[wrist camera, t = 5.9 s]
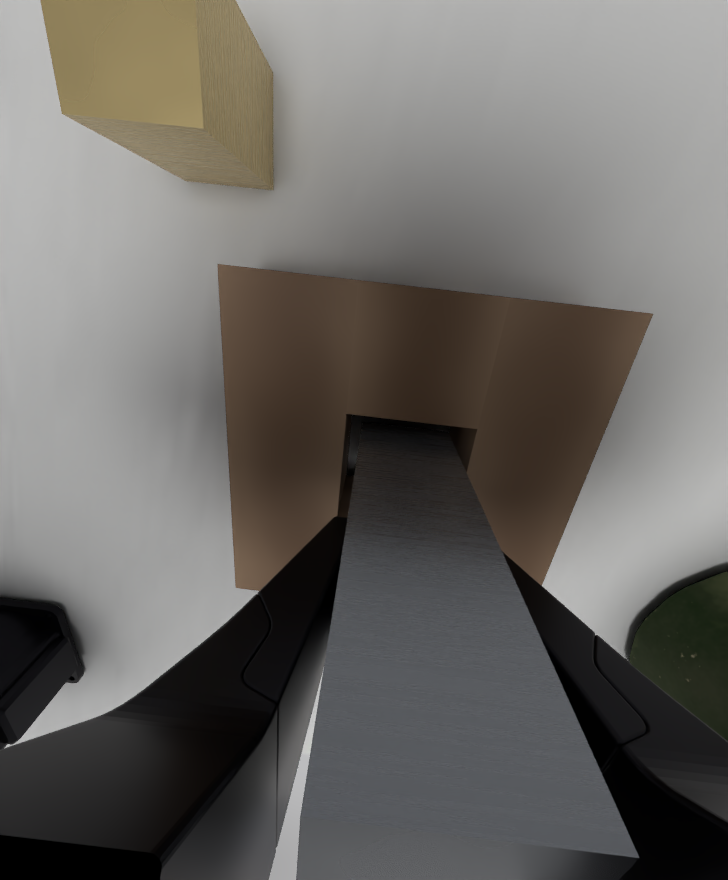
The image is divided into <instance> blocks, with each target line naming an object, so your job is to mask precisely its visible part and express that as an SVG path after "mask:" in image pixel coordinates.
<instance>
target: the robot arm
mask: <svg viewBox="0 0 728 880" xmlns="http://www.w3.org/2000/svg"><path fill="white" fill-rule="evenodd" d="M346 525H347V518H346V517H338V516H335V517H333V518H332V519H331V520H330V521H329V522H328V523H327V524H326V525H325V526H324V527H323V528H322V529H321V530H320V531H319V532H318V533H317V534H316V535H315V536H314V537H313V538H312V539H311V540H310V541H309V542H308V543H307V544H306V545H305V546H304V547H303V548H302V549H301V550H300V551H299V552H298V553H297V554H296V555H295V556H294V557H293V558H292V559H291V560H290V561H289V562H288V563H287V564H286V565H285V566H284V567H283V568H282V569H281V570H280V571H279V572H278V573H277V574H276V575H275V576H274V577H273V578H272V579H271V580H270V581H269V582H268V583H267V584H266V585H265V586H264V587H263V588H262V589H261V590H260V591H259V592H258V594H256V595H255V596H254V597H253V598H252V599H251V600H250V601H249V602H248V603H247V604H246V605H245V606H244V607H243V608H242V609H240V610H239V611H238V612H237V613H236V614H235V615H234V616H233V617H232V618H231V619H230V620H229V621H228V622H226V623H225V624H224V625H223V626H222V627H221V628H219V629H218V630H217V631H216V632H215V633H213V634H212V635H211V636H210V637H209V638H207V639H206V640H205V641H204V642H203V643H201V644H200V645H199V646H198V647H196V648H195V649H194V650H193V651H191V652H190V653H189V654H188V655H186V656H185V657H184V658H183V659H181V660H180V661H179V662H178V663H176V664H175V665H174V666H173V667H171V668H170V669H169V670H168V671H166V672H165V673H164V674H163V675H161V676H160V677H159V678H158V679H156V680H155V681H154V682H153V683H151V684H150V685H149V686H148V687H146V688H145V689H144V690H142V691H141V692H140V693H138V694H137V695H136V696H134V697H133V698H131V699H130V700H128V701H127V702H125V703H124V704H122V705H120V706H119V707H117V708H115V709H113V710H112V711H109V712H107V713H105V714H103V715H101V716H98V717H96V718H93V719H90V720H87V721H84V722H81V723H78V724H75V725H72V726H69V727H67V728H64V729H61V730H58V731H55V732H52V733H49V734H46V735H43V736H40V737H37V738H34V739H31V740H28V741H25V742H22V743H19V744H16V745H13V746H10V747H7V748H5V746H6V745H7V744H14V743H16V742H17V741H18V740H19V739H20V738H21V737H22V736H23V735H24V733H25V732H26V731H27V730H28V728H29V727H30V726H31V725H32V723H33V722H34V721H35V720H36V719H37V717H38V716H39V715H40V714H41V712H42V711H43V710H44V709H45V707H46V706H47V705H48V704H49V702H50V701H51V700H52V699H53V697H54V696H55V695H56V694H57V693H58V691H59V690H60V689H61V688H62V686H63V685H64V684H65V683H66V682H68V683H77V682H78V681H79V680H80V679H81V677H82V676H83V675H84V673H83V670H82V667H81V664H80V661H79V658H78V655H77V652H76V649H75V646H74V643H73V640H72V637H71V634H70V631H69V628H68V625H67V622H66V619H65V616H64V612H63V610H62V609H61V608H60V607H58V606H56V605H52V604H44V603H36V602H28V601H19V600H11V599H3V598H0V880H268V879H269V876H270V872H271V868H272V864H273V860H274V857H275V853H276V847H277V844H278V841H279V837H280V833H281V829H282V825H283V821H284V818H285V813H286V810H287V806H288V802H289V799H290V795H291V791H292V787H293V783H294V779H295V775H296V772H297V768H298V764H299V760H300V756H301V752H302V749H303V745H304V741H305V737H306V733H307V729H308V725H309V722H310V718H311V714H312V710H313V706H314V702H315V699H316V695H317V691H318V687H319V683H320V679H321V675H322V672H323V668H324V664H325V658H326V651H327V645H328V639H329V632H330V626H331V620H332V613H333V607H334V601H335V594H336V588H337V582H338V575H339V569H340V563H341V556H342V550H343V544H344V537H345V531H346ZM502 553H503V555H504V557H505V559H506V562H507V564H508V566H509V568H510V571H511V573H512V575H513V577H514V579H515V582H516V584H517V586H518V588H519V591H520V593H521V595H522V597H523V600H524V602H525V604H526V606H527V608H528V611H529V613H530V615H531V617H532V620H533V622H534V624H535V626H536V628H537V631H538V633H539V635H540V637H541V640H542V642H543V644H544V646H545V649H546V651H547V653H548V655H549V657H550V660H551V662H552V664H553V666H554V669H555V671H556V673H557V675H558V678H559V680H560V682H561V684H562V686H563V689H564V691H565V693H566V695H567V698H568V700H569V702H570V704H571V706H572V709H573V711H574V713H575V715H576V718H577V720H578V722H579V724H580V727H581V729H582V731H583V733H584V735H585V738H586V740H587V742H588V744H589V747H590V749H591V751H592V753H593V755H594V758H595V760H596V762H597V764H598V767H599V769H600V771H601V773H602V776H603V778H604V780H605V782H606V784H607V787H608V789H609V791H610V793H611V796H612V798H613V800H614V802H615V804H616V807H617V809H618V811H619V813H620V816H621V818H622V820H623V822H624V825H625V827H626V829H627V831H628V833H629V836H630V838H631V840H632V842H633V845H634V847H635V849H636V851H637V853H638V856H639V859H638V860H637V861H636V862H635V863H634V864H633V865H632V866H631V868H630V869H629V870H628V871H627V872H626V873H625V874H624V875H623V876H622V877H621V878H620V879H619V880H728V741H727V740H726V739H724V738H723V737H722V736H721V735H719V734H718V733H717V732H715V731H714V730H713V729H712V728H710V727H709V726H708V725H707V724H705V723H704V722H703V721H701V720H700V719H699V718H698V717H696V716H695V715H694V714H693V713H691V712H690V711H689V710H687V709H686V708H685V707H684V706H682V705H681V704H680V703H679V702H677V701H676V700H675V699H673V698H672V697H671V696H670V695H668V694H667V693H666V692H665V691H663V690H662V689H661V688H660V687H658V686H657V685H656V684H655V683H654V682H652V681H651V680H650V679H649V678H647V677H646V676H645V675H644V674H642V673H641V672H640V671H639V670H637V669H636V668H635V667H634V666H633V665H632V664H630V663H629V662H628V661H627V660H626V659H625V658H623V657H622V656H621V655H620V654H619V653H618V652H616V651H615V650H614V649H613V648H612V647H611V646H609V645H608V644H607V643H606V642H605V641H604V640H603V639H602V638H600V637H599V636H598V635H595V633H594V632H593V631H592V630H591V629H590V628H589V627H588V626H587V625H585V624H584V623H583V622H582V621H581V620H580V619H579V618H578V617H576V616H575V615H574V614H573V613H572V612H571V611H570V610H568V609H567V608H566V607H565V606H564V605H563V604H562V603H561V602H559V601H558V600H557V599H556V598H555V597H554V596H553V595H551V594H550V593H549V592H548V591H547V590H546V589H545V588H543V587H542V586H541V585H540V584H539V583H538V582H537V581H536V580H534V579H533V578H532V577H531V576H530V575H529V574H528V573H526V572H525V571H524V570H523V569H522V568H521V567H520V566H519V565H517V564H516V563H515V562H514V561H513V560H512V559H511V558H509V557H508V556H507V555H506V554H505V553H504V552H503V551H502Z"/></svg>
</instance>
